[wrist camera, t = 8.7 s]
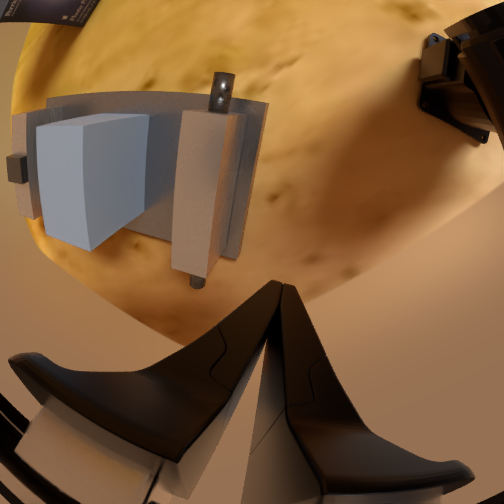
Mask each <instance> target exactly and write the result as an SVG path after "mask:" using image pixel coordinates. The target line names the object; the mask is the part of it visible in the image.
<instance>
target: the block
mask: <svg viewBox="0 0 504 504" xmlns="http://www.w3.org/2000/svg"><path fill="white" fill-rule="evenodd" d="M149 116H150V115H143V114H112V113H101V114H95V115H89V116H83V117H78V118H72V119H68V120H63V121H58V122H54V123H50V124H45V125H41V126H38V127H36V144H37V167H38V180H39V190H40V198H41V206H42V213H43V219H44V225H45V230H46V234H47V235H49V236H51V237H54V238H56V239H59V240H61V241H64V242H66V243H69V244H71V245H74V246H77V247H79V248H82V249H84V250H87V251H90V252H91V251H92V250H93V249H95V248H96V247H97V246H98V245H100V244H101V243H102V242H103V241H105V240H106V239H107V238H109V237H110V236H111V235H113V234H114V233H115V232H117V231H118V230H119V229H121V228H122V227H123V226H125V225H126V224H127V223H129V222H130V221H132V220H133V219H134V218H136V217H137V216H139V215H140V214H141V213H143V212H144V196H145V167H146V150H147V137H148V126H149Z"/></svg>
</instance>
